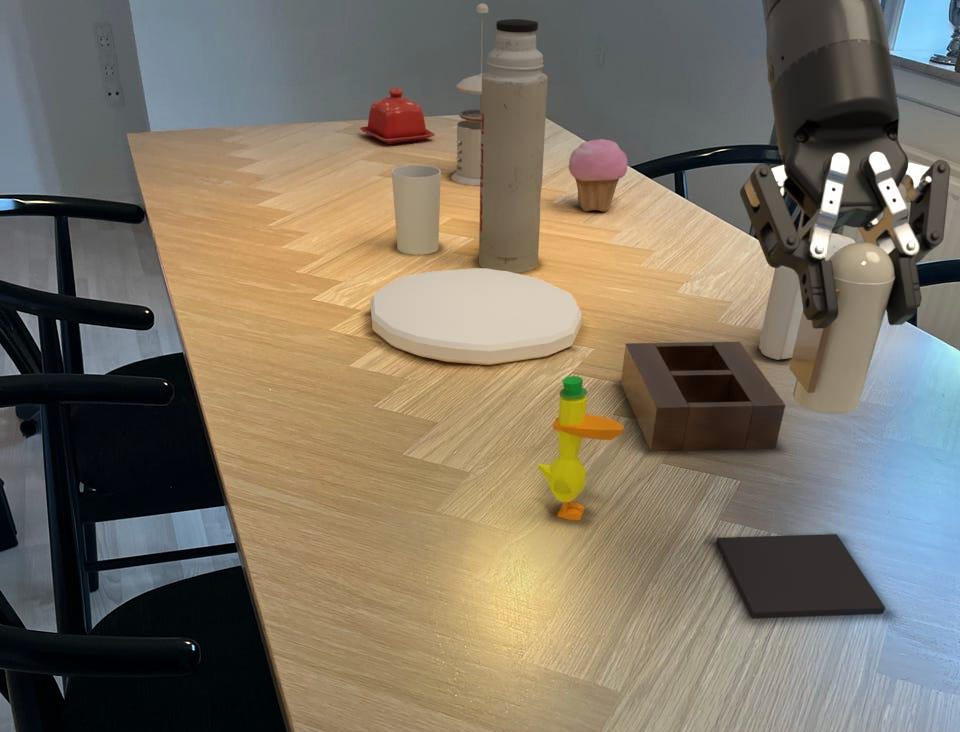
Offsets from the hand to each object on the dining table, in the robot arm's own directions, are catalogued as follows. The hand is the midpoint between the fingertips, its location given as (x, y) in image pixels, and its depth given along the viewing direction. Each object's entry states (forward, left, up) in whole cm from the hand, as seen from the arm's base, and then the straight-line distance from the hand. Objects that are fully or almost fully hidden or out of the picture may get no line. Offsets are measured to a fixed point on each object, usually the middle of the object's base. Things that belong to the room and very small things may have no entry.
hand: (865, 320), depth 63 cm
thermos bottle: (+15, -74, -21) cm, 78 cm away
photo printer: (-15, -44, -21) cm, 51 cm away
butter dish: (+29, -147, -21) cm, 151 cm away
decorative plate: (+21, -53, -21) cm, 61 cm away
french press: (+15, -119, -21) cm, 122 cm away
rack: (+1, -28, -20) cm, 35 cm away
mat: (0, 0, -20) cm, 20 cm away
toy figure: (+16, -10, -21) cm, 28 cm away
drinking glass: (+27, -81, -21) cm, 88 cm away
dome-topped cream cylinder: (0, -2, -7) cm, 7 cm away
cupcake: (-1, -99, -21) cm, 101 cm away
